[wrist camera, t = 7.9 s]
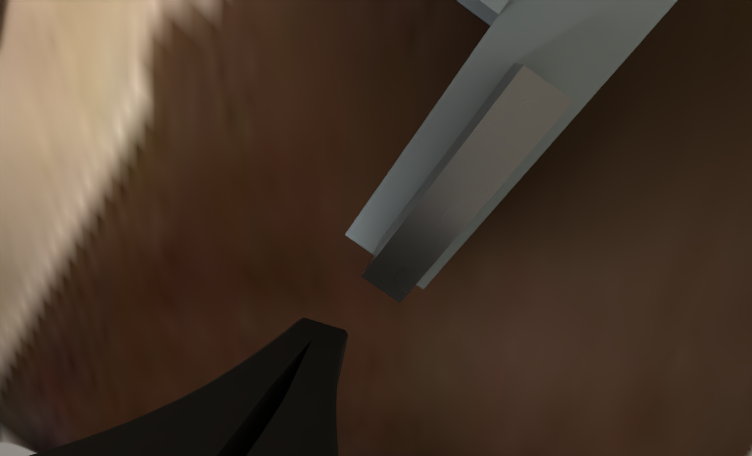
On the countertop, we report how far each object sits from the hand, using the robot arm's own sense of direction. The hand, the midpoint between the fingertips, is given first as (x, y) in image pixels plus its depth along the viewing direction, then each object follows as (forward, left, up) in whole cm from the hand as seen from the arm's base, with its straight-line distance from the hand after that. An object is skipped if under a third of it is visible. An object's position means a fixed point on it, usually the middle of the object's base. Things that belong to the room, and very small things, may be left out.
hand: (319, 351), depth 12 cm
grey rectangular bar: (0, +6, 0) cm, 6 cm away
